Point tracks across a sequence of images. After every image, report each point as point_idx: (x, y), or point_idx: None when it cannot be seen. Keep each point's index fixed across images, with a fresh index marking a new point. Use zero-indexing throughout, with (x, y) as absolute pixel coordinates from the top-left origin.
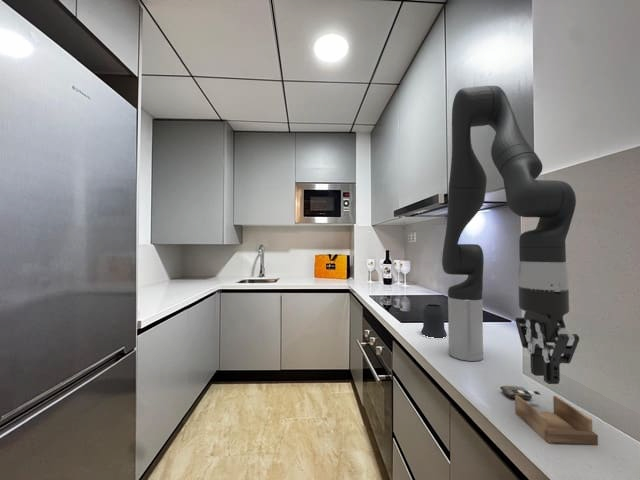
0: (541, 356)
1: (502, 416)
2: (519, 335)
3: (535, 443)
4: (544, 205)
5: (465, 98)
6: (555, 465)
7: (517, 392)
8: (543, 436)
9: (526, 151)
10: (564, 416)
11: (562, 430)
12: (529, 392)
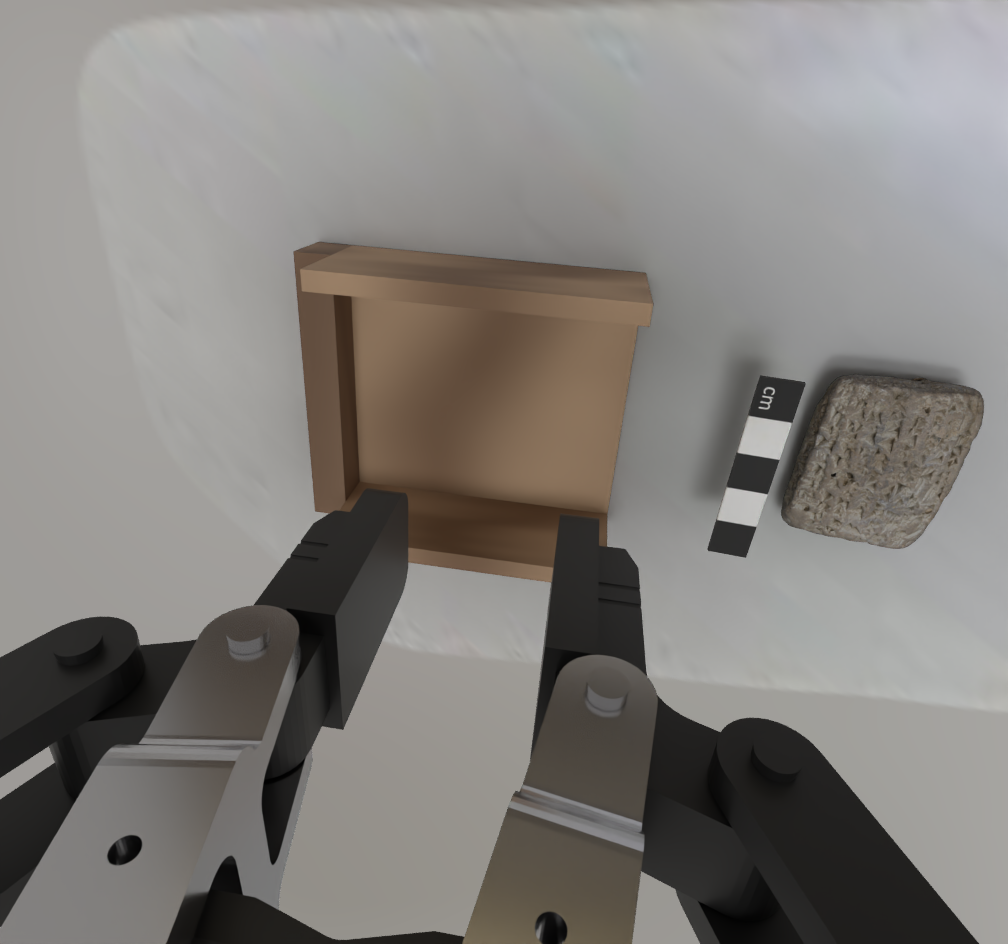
0: (536, 728)
1: (619, 138)
2: (966, 931)
3: (315, 155)
4: None
5: None
6: (134, 123)
7: (756, 401)
8: (356, 247)
9: None
10: (519, 515)
11: (427, 412)
12: (743, 494)
